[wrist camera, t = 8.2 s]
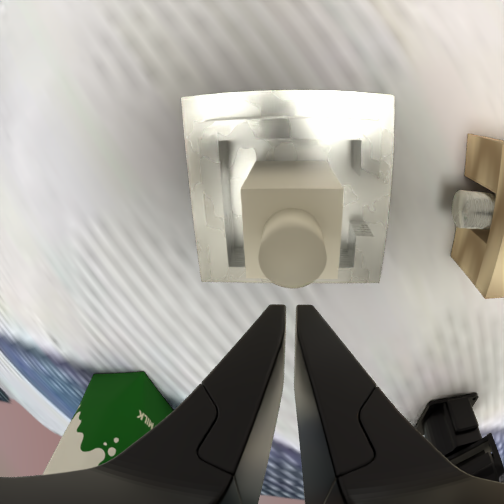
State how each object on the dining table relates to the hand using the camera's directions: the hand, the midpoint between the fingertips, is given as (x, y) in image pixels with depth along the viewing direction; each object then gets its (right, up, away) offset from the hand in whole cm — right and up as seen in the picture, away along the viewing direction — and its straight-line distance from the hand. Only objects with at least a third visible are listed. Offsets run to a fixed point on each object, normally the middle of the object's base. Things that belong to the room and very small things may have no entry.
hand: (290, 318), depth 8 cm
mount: (+15, +5, +9) cm, 18 cm away
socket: (+1, +5, +11) cm, 12 cm away
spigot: (+1, +5, +10) cm, 11 cm away
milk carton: (-14, -13, +22) cm, 29 cm away
